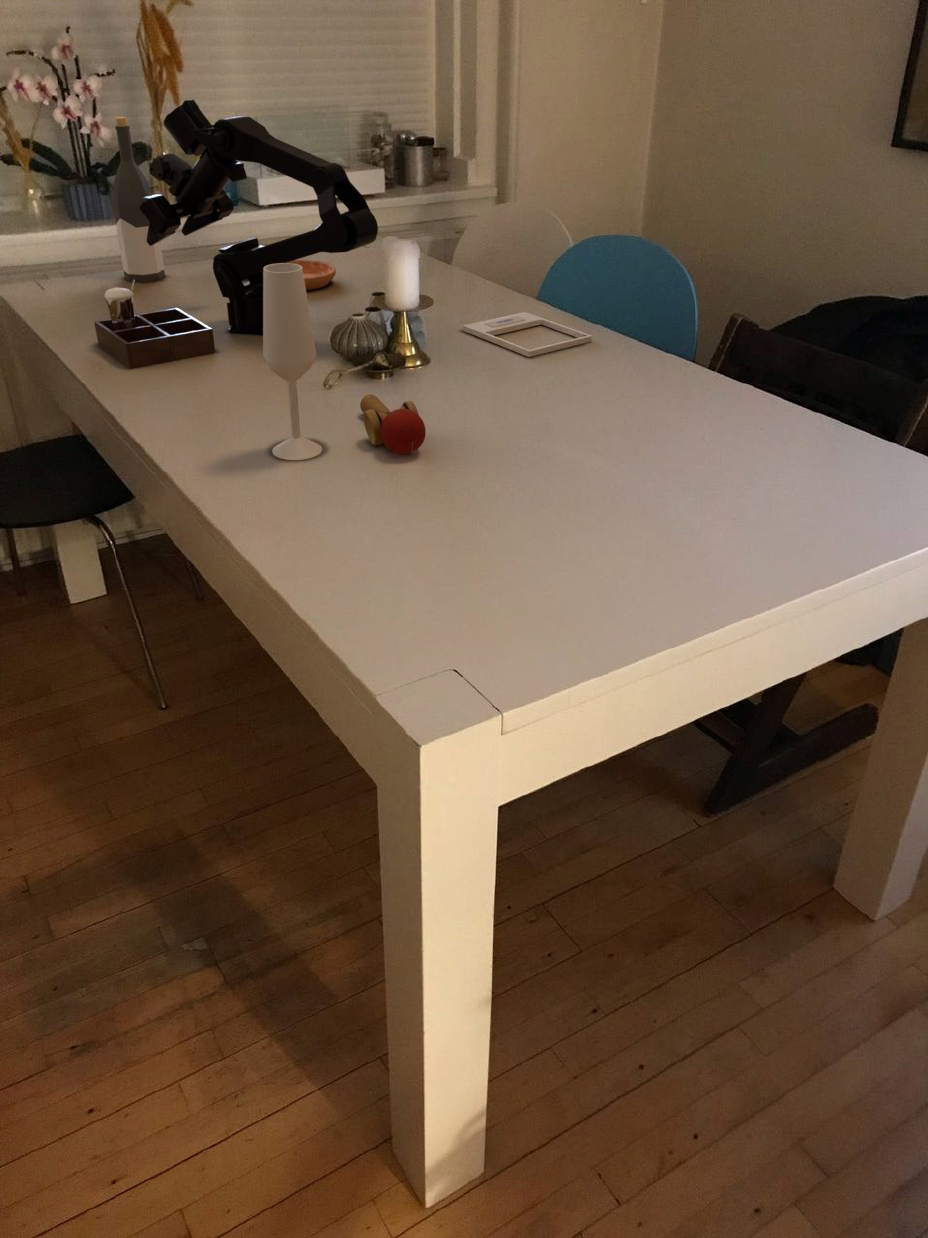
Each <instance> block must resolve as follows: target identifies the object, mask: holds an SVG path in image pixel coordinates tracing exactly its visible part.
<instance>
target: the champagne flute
mask: <svg viewBox="0 0 928 1238" xmlns="http://www.w3.org/2000/svg"><path fill="white" fill-rule="evenodd" d="M307 294H308V293H307V290H306V287H305V281H304V275H303V269H302V266H300V265H298V264H292V263H277V264H271V265H267V266H265V267H264V268H263V334H262V339H263V340H262V357H263V359H264V360H263V361H264V362H265V364H266V365H267V367H268V368H269V369H270V370H271V371H272V372H273V373H274V374H275V375H277V376H278V377H279V378H280V379H282V380H284V381H286V382H287V394H288V395H287V396H288V408H289V420H290V431H291V437H289V438H287V439H285V440H284V441H282V442H280V443H279V444H277V445H275V446H273V448H272V450H271V451H272V454H273V456H274V457H276V458H279V459H283V460H287V461H302V460H308V459H312V458H314V457H317V456H318V455H320V454H321V453H322V451H323V447H322V446H321V445H320V444H318V443H317V442H315V441H312V440H311V439H308V438H306V437H303V436H301V424H300V410H299V397H298V386H297V385H298V384H297V383H298V382H297V381H298V380H301V379H302V378H303V377H304V375H306V374H307V372H309V370H311V368H312V367H313V365H314V364H315V361H316V358H317V350H316V344H315V338H314V331H313V325H312V320H311V313H310V307H309V300H308V295H307Z"/></svg>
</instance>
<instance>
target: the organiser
mask: <svg viewBox="0 0 928 1238" xmlns="http://www.w3.org/2000/svg"><path fill="white" fill-rule="evenodd" d="M134 316H135V328H130V329H124V330H118V331H114V330H113V326H112V322H111V318H107V319H99V320H94V328H95V334H96V339H97V344H98V346H99V347H101V349H103V350H105V351H106V352H107V353H108V354H110V355H111V356H113V357H114V358H115V359H117V360H118V361H119V362H121V363H122V364H123V365H125V366H126V367H127V368H128V369H135V368H141V367H145V366H150V365H157V364H161V363H167V362H172V361H177V360H182V359H187V358H193V357H198V356H199V357H200V356H203V355H208V354H214V353H216V348H215V347H216V345H215V339H214V330H213V328H211V327H210V326H208V325H207V324H205V323H203V322H202V321H200V320H198V319H197V318H195V317H194V316H192V315H190V314H188V313H187V312H185V311H184V310H182V309H180V308H178V307H173V308H167V309H161V310H156V311H149V312H144V313H137V314H134Z"/></svg>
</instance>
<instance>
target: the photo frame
mask: <svg viewBox="0 0 928 1238" xmlns="http://www.w3.org/2000/svg"><path fill="white" fill-rule="evenodd" d="M540 325H542V326H545V327H547V328H549V329H553V330H555V331H558V332H561V333H563V334H566V335H569V336H572V337H575V338H572V339H568V340H564V341H559V342H556V343H555V342H554V343H552V344H548V345H543V346H540V347H536V348H531V349H528V348H526V347H524V346H520V345H518V344H516V343H513V342H510V341H508V340H506V339H503V338H500V337H498V336H497V335H502V334H506V333H509V332H514V331H519V330H523V329H528V328H531V327H536V326H540ZM462 331H463V332H465V333H467V334H469V335H474V336H475V337H478V338H480V339H483V340H485V341H488V342H491V343H493V344H495V345H498V346H501V347H503V348H505V349H508V350H510V351H513V352H515V353H517V354H521V355H523V356H525V357H527V358H530V357H535V356H539V355H543V354H547V353H550V352H551V353H552V352H554V351H555V352H556V351H559V350H562V349H566V348H567V349H568V348H570V347H575V346H580V345H582V344H583V345H584V344H586V343H590V342H593V335H591V334H588V333H585V332H583V331H580V330H577V329H574V328H571V327H569V326H566V325H563V324H561V323H558V322H554V321H552V320H549V319H546V318H543V317H541V316H538V315H535V314H532V313H529V312H527V311H523V312H518V313H514V314H510V315H504V316H500V317H496V318H491V319H486V320H482V321H476V322H473V323H469V324H464V325H462Z"/></svg>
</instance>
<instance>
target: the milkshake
mask: <svg viewBox="0 0 928 1238" xmlns="http://www.w3.org/2000/svg"><path fill="white" fill-rule="evenodd" d="M134 281H135V280H133V282H131V283H132V284H131V287H130V289H129V288H124V287H116V286H115V287H112V288H109V289H107V290H106V291H105V293H104V299H105V303H106V306H107V310H108V313H109V317H110V318H109V319H111V322H112V326H113V330H114V331H118V330H124V329H130V328H135V316H134V315H135V301H134V300H135V299H134V292H133V290H134V285H135V282H134Z"/></svg>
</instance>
